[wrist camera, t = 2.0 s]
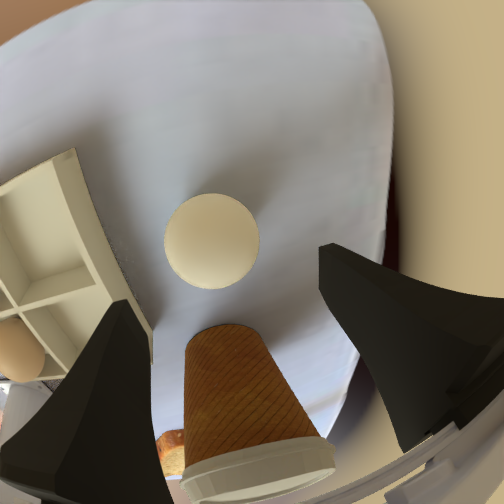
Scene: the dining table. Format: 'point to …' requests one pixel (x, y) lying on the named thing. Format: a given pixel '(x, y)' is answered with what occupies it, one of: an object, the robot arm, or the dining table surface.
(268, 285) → the dining table surface
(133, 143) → the dining table surface
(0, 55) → the dining table surface
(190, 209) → the white egg
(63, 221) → the egg carton
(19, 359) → the brown egg
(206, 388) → the disposable coffee cup
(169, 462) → the slice of bread
